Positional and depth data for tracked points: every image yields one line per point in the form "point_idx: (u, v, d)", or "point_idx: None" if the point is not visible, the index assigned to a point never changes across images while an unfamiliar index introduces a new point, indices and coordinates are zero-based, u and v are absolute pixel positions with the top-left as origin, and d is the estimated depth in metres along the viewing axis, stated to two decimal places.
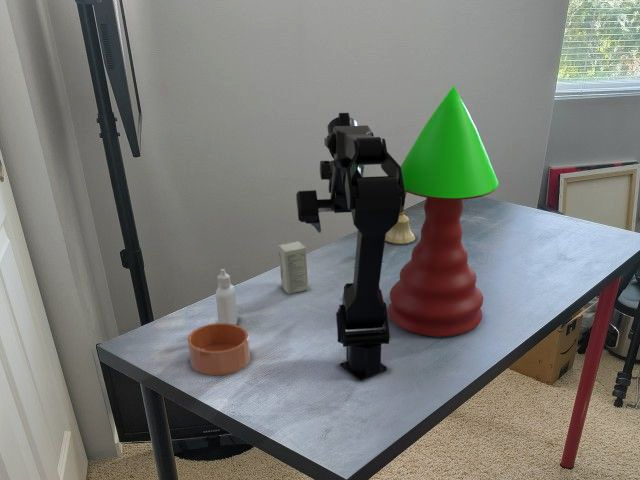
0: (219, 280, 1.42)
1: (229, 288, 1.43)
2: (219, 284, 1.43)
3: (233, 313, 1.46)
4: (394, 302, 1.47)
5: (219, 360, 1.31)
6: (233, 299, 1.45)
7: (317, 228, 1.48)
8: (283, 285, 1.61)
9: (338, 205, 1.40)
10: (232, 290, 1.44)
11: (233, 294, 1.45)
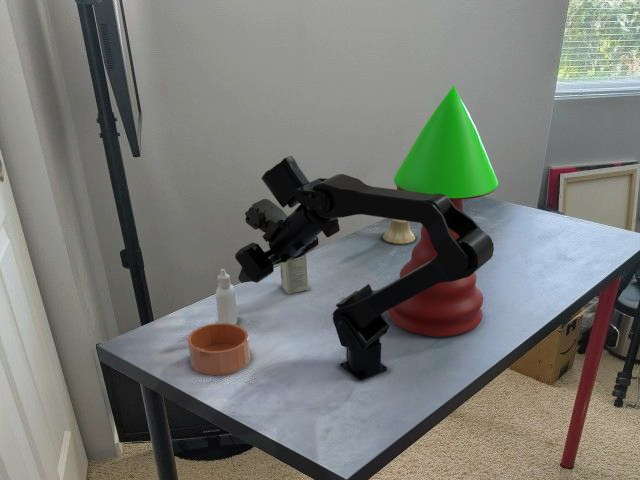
0: (219, 280, 1.42)
1: (229, 288, 1.43)
2: (219, 284, 1.43)
3: (233, 313, 1.46)
4: None
5: (219, 360, 1.31)
6: (233, 299, 1.45)
7: (251, 281, 1.32)
8: (283, 285, 1.61)
9: (289, 254, 1.29)
10: (232, 290, 1.44)
11: (233, 294, 1.45)
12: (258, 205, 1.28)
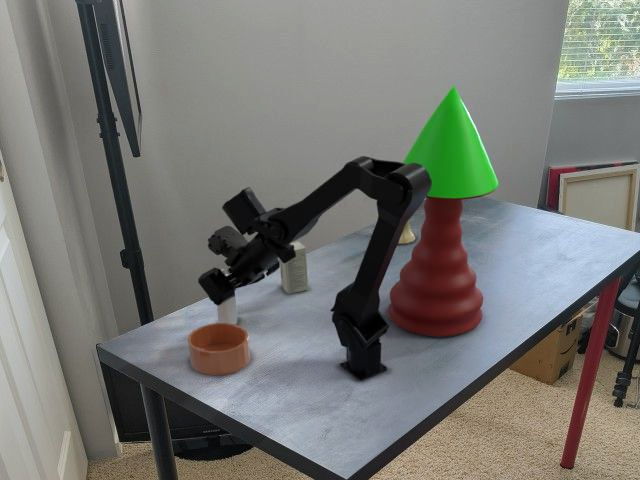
0: None
1: None
2: None
3: (233, 313, 1.46)
4: (394, 302, 1.47)
5: (219, 360, 1.31)
6: (233, 299, 1.45)
7: None
8: (283, 285, 1.61)
9: (250, 278, 1.37)
10: None
11: None
12: (220, 232, 1.36)
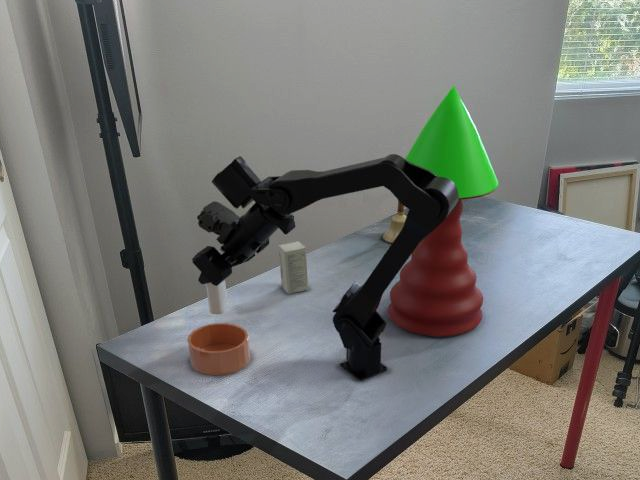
0: None
1: None
2: None
3: (224, 295, 1.37)
4: (394, 302, 1.47)
5: (219, 360, 1.31)
6: (224, 281, 1.36)
7: None
8: (283, 285, 1.61)
9: (246, 255, 1.29)
10: None
11: None
12: (209, 208, 1.27)
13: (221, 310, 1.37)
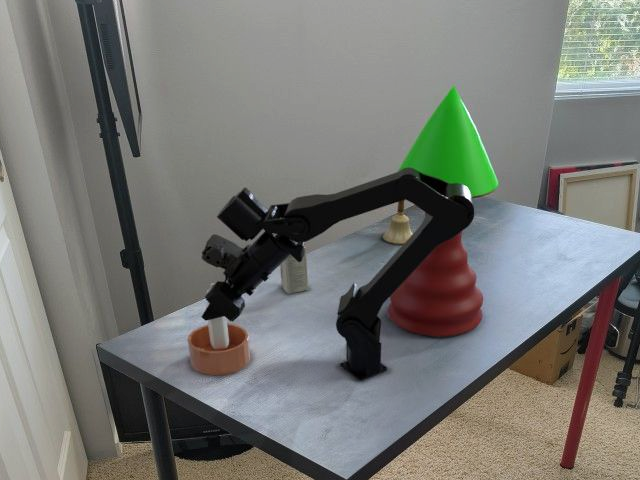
0: None
1: None
2: None
3: (227, 329, 1.33)
4: (394, 302, 1.47)
5: (219, 360, 1.31)
6: None
7: None
8: (283, 285, 1.61)
9: (254, 286, 1.26)
10: None
11: None
12: (212, 242, 1.23)
13: (226, 344, 1.33)
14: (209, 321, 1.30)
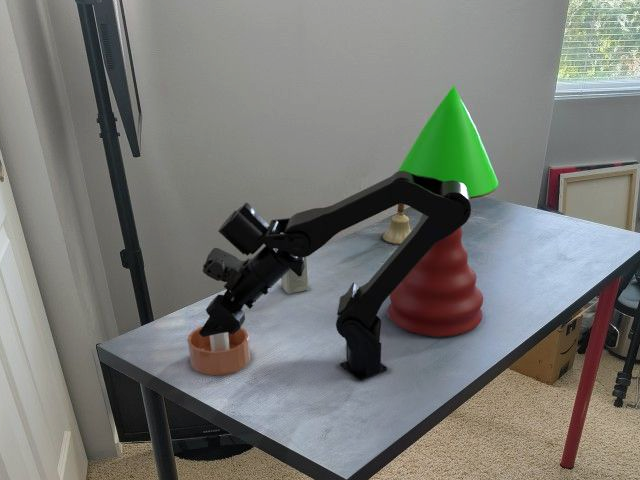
0: None
1: None
2: None
3: (228, 344, 1.35)
4: (394, 302, 1.47)
5: (219, 360, 1.31)
6: None
7: None
8: (283, 285, 1.61)
9: (254, 299, 1.27)
10: None
11: None
12: (213, 255, 1.24)
13: None
14: (211, 336, 1.32)
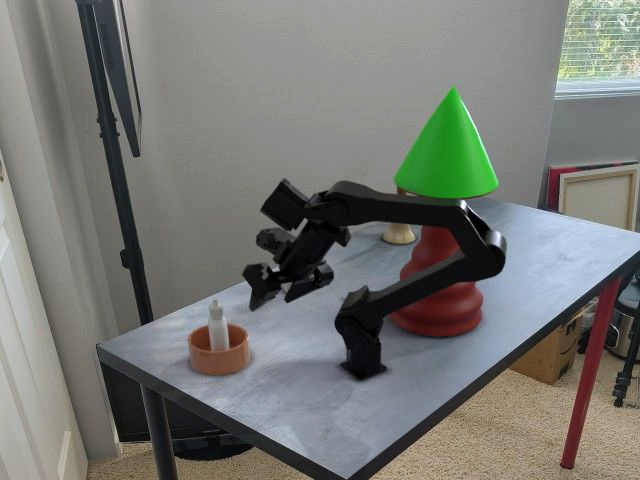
0: (213, 311, 1.30)
1: (223, 318, 1.32)
2: (213, 316, 1.31)
3: (228, 344, 1.35)
4: None
5: (219, 360, 1.31)
6: (227, 329, 1.34)
7: (261, 306, 1.27)
8: (283, 285, 1.61)
9: (299, 275, 1.25)
10: (225, 319, 1.33)
11: None
12: (270, 230, 1.27)
13: None
14: (211, 336, 1.32)
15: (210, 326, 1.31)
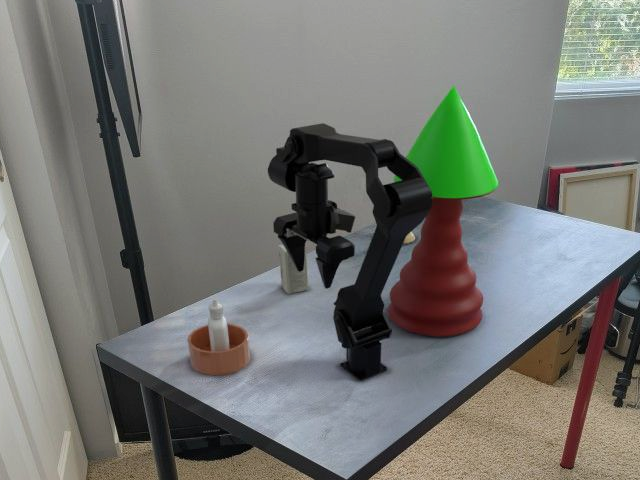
0: (213, 311, 1.30)
1: (223, 318, 1.32)
2: (213, 316, 1.31)
3: (228, 344, 1.35)
4: (394, 302, 1.47)
5: (219, 360, 1.31)
6: (227, 329, 1.34)
7: None
8: (283, 285, 1.61)
9: None
10: (225, 319, 1.33)
11: None
12: (343, 211, 1.36)
13: None
14: (211, 336, 1.32)
15: (210, 326, 1.31)
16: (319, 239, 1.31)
